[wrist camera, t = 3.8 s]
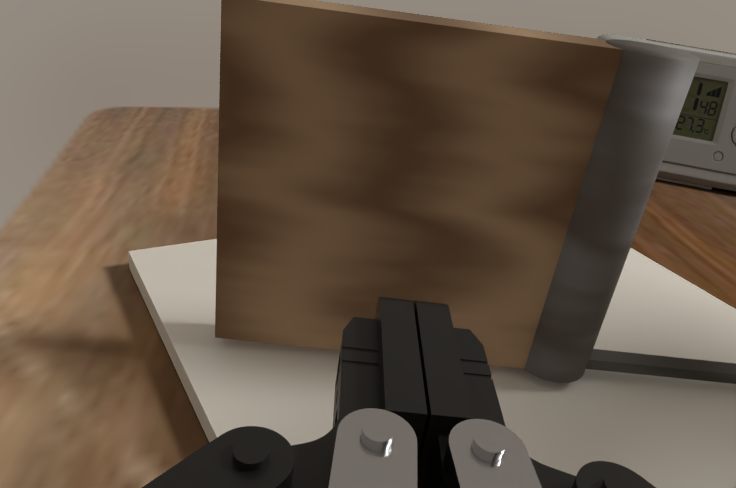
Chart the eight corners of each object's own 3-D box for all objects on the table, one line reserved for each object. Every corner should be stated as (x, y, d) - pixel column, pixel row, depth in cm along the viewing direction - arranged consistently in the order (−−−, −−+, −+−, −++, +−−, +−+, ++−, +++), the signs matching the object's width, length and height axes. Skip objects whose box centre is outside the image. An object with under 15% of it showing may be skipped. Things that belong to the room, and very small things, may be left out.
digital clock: (556, 161, 56) (592, 36, 51) (570, 136, 63) (602, 25, 58) (758, 213, 51) (820, 80, 46) (747, 179, 58) (799, 62, 53)
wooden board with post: (794, 364, 29) (952, 84, 23) (837, 410, 27) (1027, 107, 21) (225, 305, 28) (235, -14, 21) (211, 348, 25) (217, -2, 19)
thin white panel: (534, 206, 46) (539, 191, 45) (1021, 503, 25) (1040, 482, 25) (129, 268, 32) (128, 247, 31) (483, 1040, 11) (497, 1018, 11)
